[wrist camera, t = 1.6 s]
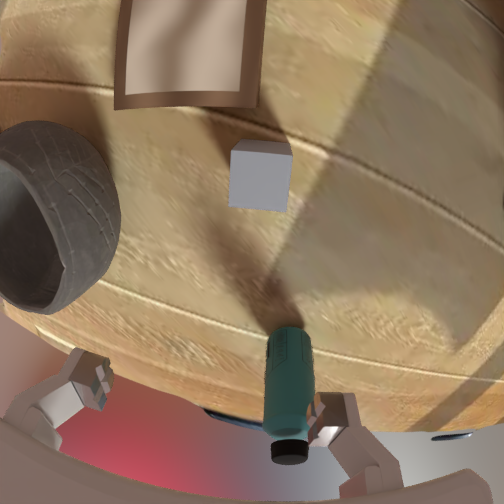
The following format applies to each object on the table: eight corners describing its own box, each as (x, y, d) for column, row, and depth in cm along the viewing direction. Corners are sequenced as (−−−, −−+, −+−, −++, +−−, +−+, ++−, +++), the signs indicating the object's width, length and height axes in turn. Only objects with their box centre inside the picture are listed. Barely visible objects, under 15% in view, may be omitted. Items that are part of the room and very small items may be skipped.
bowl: (26, 112, 27) (-56, 139, 14) (153, 112, 28) (66, 134, 15) (36, 242, 38) (-22, 296, 25) (145, 272, 38) (95, 352, 25)
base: (267, -13, 20) (266, -28, 16) (258, 107, 27) (255, 108, 23) (139, -4, 20) (122, -13, 17) (131, 107, 27) (112, 110, 24)
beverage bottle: (264, 319, 41) (252, 452, 23) (311, 315, 40) (320, 450, 22) (269, 349, 44) (261, 470, 27) (312, 346, 43) (319, 467, 26)
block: (289, 143, 29) (292, 155, 23) (284, 188, 31) (286, 212, 25) (241, 138, 29) (231, 150, 23) (238, 183, 31) (228, 206, 25)
